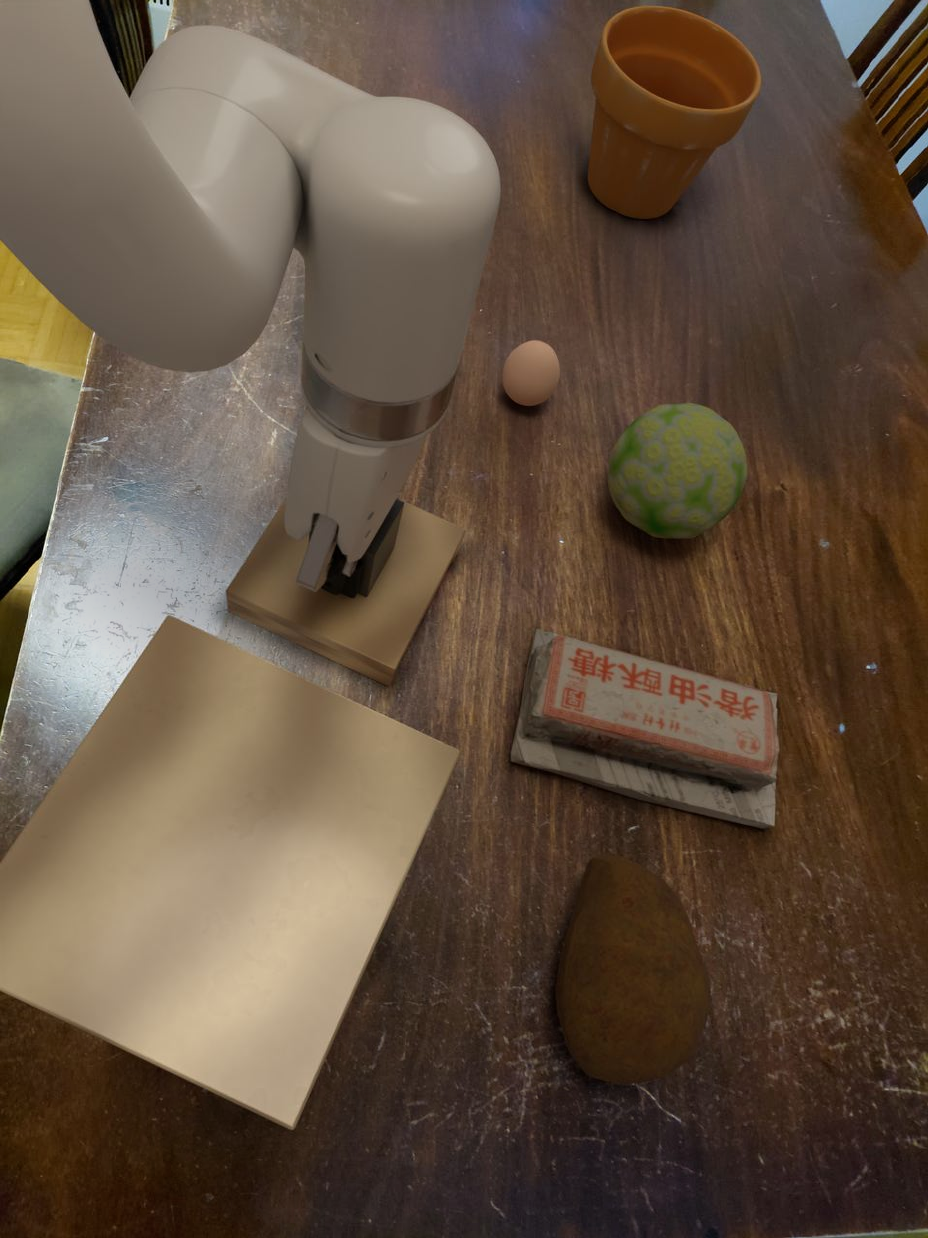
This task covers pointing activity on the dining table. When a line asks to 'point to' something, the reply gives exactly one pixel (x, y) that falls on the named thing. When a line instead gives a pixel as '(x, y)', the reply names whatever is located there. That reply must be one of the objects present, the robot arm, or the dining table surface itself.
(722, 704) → the packaged product
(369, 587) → the block
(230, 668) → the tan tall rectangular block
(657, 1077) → the potato
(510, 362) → the egg
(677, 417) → the decorative ball
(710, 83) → the flower pot
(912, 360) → the dining table surface
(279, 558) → the tan flat square block
